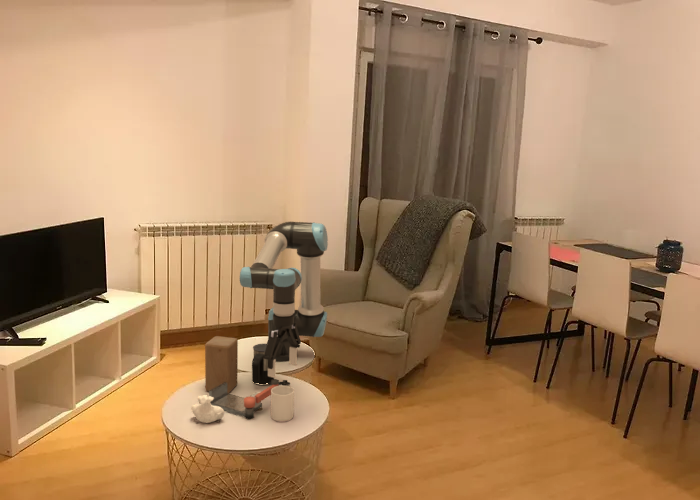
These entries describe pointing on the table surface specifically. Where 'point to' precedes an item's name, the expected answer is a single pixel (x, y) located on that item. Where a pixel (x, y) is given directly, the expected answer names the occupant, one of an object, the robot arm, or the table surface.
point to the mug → (282, 403)
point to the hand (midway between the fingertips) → (282, 370)
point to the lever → (259, 396)
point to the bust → (207, 410)
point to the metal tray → (231, 402)
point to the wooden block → (221, 362)
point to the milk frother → (262, 367)
